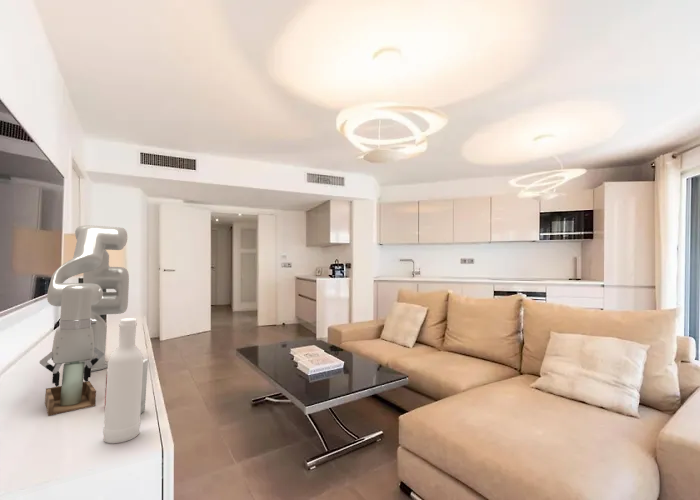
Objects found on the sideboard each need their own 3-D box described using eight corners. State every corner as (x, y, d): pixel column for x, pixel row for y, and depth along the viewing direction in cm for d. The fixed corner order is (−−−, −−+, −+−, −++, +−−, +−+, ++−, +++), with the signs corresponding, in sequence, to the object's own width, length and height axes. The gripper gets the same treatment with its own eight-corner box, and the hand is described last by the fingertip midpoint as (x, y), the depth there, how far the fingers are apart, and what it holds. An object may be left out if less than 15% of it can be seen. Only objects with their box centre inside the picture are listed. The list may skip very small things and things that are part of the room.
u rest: (44, 403, 108) (45, 388, 108) (88, 394, 115) (89, 381, 116) (48, 416, 99) (49, 399, 99) (95, 405, 107) (96, 390, 107)
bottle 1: (58, 402, 107) (64, 346, 109) (79, 398, 111) (84, 344, 112) (60, 407, 103) (66, 349, 105) (82, 403, 107) (87, 347, 109)
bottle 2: (121, 445, 84) (128, 322, 86) (94, 441, 86) (102, 320, 87) (146, 430, 92) (152, 317, 93) (122, 427, 94) (128, 316, 95)
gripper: (106, 320, 117) (102, 374, 116) (37, 325, 105) (33, 385, 104) (110, 323, 112) (107, 379, 111) (39, 329, 99) (34, 392, 98)
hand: (71, 382), depth 107 cm, fingers open, 6 cm apart
